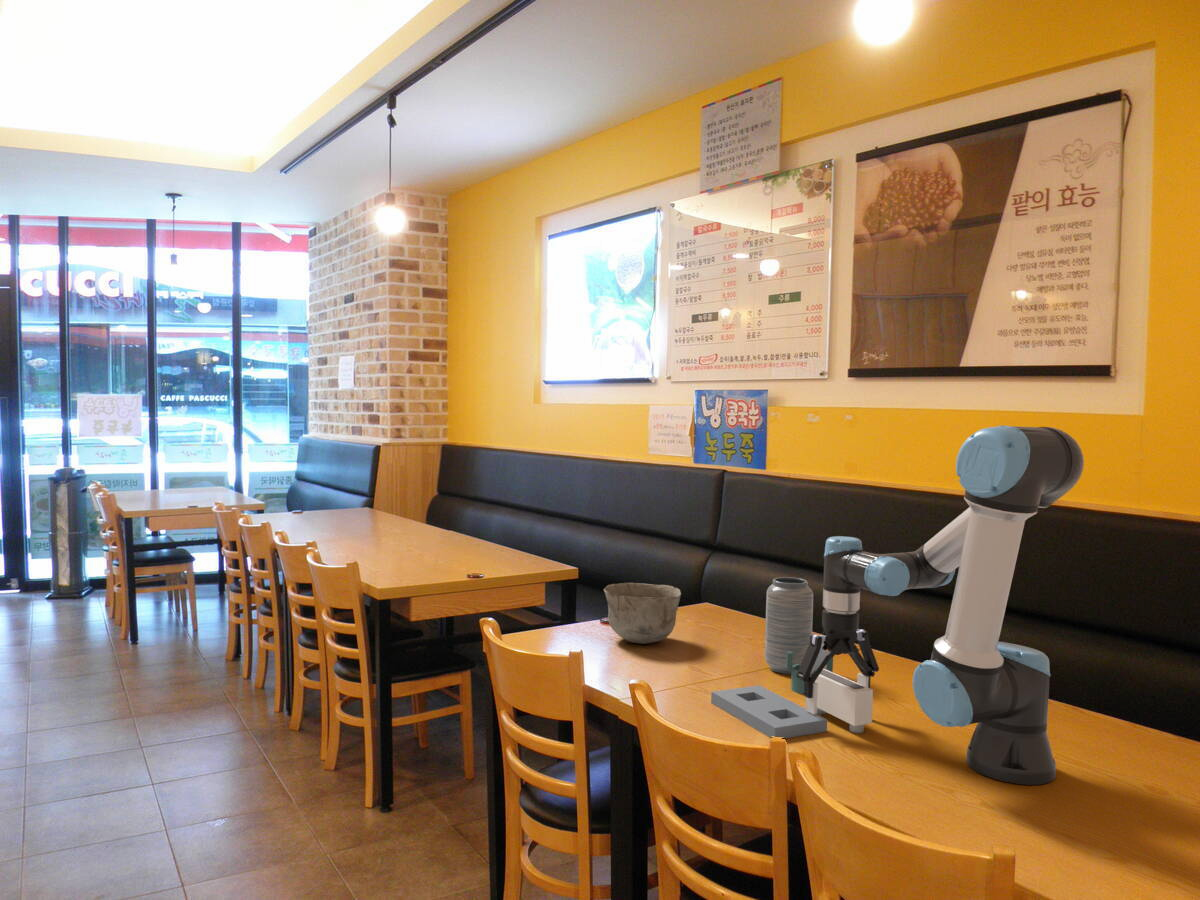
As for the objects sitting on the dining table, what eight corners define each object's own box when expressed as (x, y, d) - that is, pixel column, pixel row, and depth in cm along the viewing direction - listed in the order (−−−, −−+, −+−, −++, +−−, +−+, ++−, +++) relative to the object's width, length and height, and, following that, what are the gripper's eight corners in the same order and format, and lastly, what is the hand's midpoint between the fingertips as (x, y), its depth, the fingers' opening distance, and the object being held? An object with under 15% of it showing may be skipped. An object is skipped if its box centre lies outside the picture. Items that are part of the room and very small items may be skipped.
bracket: (835, 692, 207) (836, 654, 207) (806, 697, 203) (807, 659, 202) (808, 682, 215) (809, 645, 215) (779, 687, 210) (781, 650, 210)
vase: (795, 661, 232) (798, 575, 231) (819, 674, 221) (822, 583, 220) (756, 664, 228) (758, 576, 227) (778, 677, 217) (781, 585, 216)
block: (871, 732, 181) (873, 688, 181) (854, 735, 179) (855, 691, 179) (821, 708, 196) (822, 667, 195) (805, 710, 194) (806, 669, 193)
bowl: (607, 629, 261) (609, 579, 260) (681, 634, 258) (682, 583, 257) (597, 649, 239) (598, 595, 239) (677, 654, 236) (679, 599, 236)
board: (826, 731, 181) (827, 719, 181) (774, 740, 176) (775, 727, 176) (759, 696, 203) (759, 685, 203) (711, 702, 198) (711, 691, 198)
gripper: (874, 601, 195) (870, 696, 196) (781, 610, 185) (778, 709, 186) (898, 609, 188) (894, 707, 189) (804, 618, 178) (800, 721, 179)
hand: (836, 708), depth 188 cm, fingers open, 13 cm apart
